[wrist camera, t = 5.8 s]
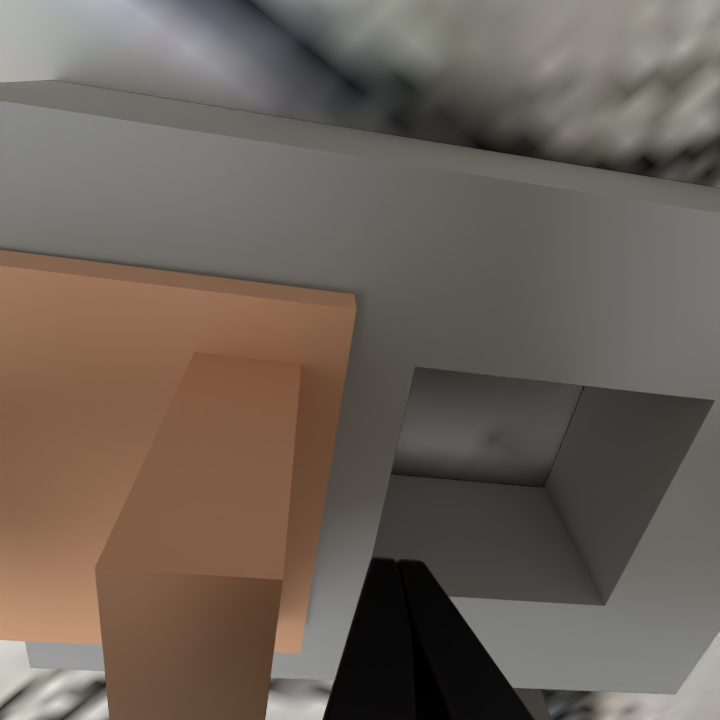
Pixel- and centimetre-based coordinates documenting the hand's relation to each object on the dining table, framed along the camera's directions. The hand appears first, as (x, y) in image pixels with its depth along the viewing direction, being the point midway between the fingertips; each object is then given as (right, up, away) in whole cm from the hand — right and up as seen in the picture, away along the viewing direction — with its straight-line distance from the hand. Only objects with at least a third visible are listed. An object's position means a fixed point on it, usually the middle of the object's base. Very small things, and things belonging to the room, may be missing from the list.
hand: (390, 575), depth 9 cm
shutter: (-4, +1, +1) cm, 5 cm away
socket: (+1, +3, +5) cm, 6 cm away
